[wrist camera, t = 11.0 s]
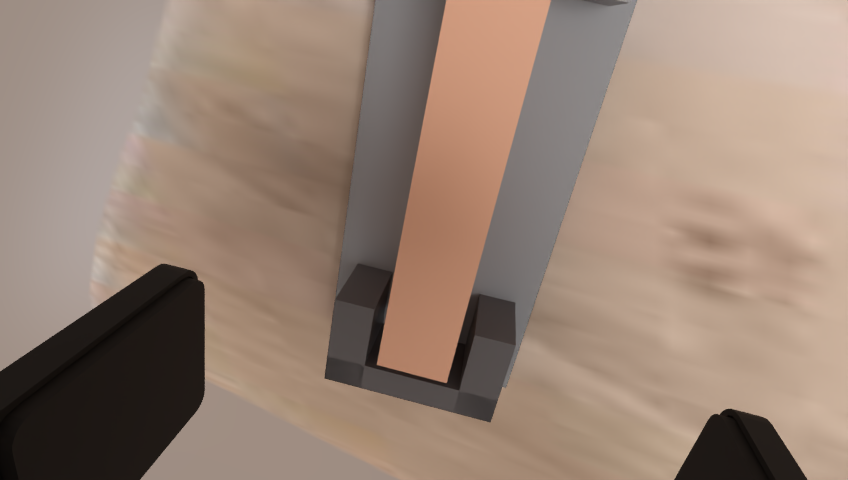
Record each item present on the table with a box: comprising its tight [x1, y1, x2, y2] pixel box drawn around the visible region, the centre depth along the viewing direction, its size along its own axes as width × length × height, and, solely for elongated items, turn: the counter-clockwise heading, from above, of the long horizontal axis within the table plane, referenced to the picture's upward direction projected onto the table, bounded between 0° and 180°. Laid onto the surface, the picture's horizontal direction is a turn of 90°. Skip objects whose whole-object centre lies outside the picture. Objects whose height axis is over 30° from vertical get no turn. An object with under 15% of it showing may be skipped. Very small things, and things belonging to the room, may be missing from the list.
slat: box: [377, 0, 551, 383], centre depth 22 cm, size 20×4×5 cm, turn 169°
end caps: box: [325, 0, 631, 422], centre depth 23 cm, size 25×9×4 cm, turn 169°
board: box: [335, 0, 637, 388], centre depth 25 cm, size 27×11×2 cm, turn 169°
